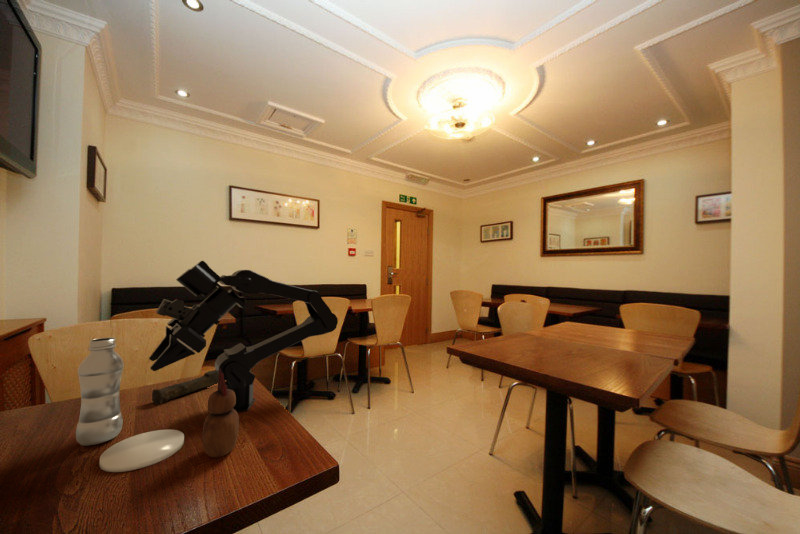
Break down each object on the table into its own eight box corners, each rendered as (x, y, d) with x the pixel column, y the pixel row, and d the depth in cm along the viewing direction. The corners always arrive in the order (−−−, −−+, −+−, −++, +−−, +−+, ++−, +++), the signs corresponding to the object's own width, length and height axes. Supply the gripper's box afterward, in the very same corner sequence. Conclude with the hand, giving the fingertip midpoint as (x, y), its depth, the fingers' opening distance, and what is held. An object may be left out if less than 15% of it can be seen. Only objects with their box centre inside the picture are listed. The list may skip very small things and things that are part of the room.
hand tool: (158, 407, 76) (159, 388, 76) (150, 403, 78) (151, 385, 78) (231, 383, 93) (231, 368, 93) (222, 381, 94) (223, 366, 95)
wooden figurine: (206, 445, 59) (208, 367, 59) (239, 439, 61) (241, 364, 62) (198, 465, 53) (201, 378, 53) (236, 458, 55) (238, 374, 55)
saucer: (195, 432, 64) (196, 427, 64) (160, 468, 52) (160, 462, 52) (131, 436, 62) (131, 431, 62) (79, 475, 50) (79, 469, 50)
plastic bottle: (129, 436, 62) (132, 337, 62) (83, 454, 56) (87, 344, 56) (113, 429, 64) (116, 334, 65) (68, 445, 58) (72, 341, 59)
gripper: (179, 285, 76) (118, 334, 69) (188, 288, 62) (113, 350, 55) (214, 314, 81) (161, 363, 74) (231, 323, 67) (166, 384, 60)
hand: (151, 364), depth 65 cm, fingers open, 9 cm apart
